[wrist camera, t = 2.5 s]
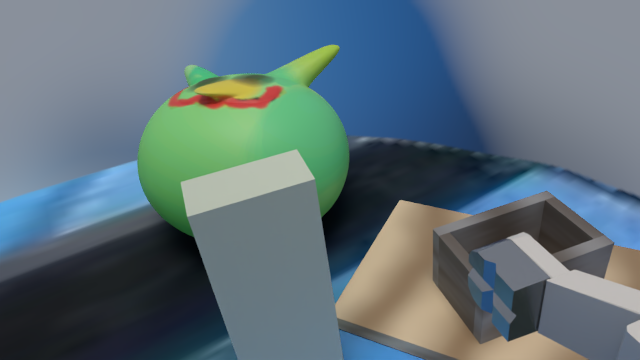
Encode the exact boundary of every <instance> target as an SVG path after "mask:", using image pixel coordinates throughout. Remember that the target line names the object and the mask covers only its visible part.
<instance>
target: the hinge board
mask: <svg viewBox="0 0 640 360" xmlns="http://www.w3.org/2000/svg"><path fill="white" fill-rule="evenodd" d="M522 232H525V233H527V234H529V235H530V236H531V237H532V238H533V239H534V240H536V241H537V242H538V243H539V244H540V245H541V246H542V247H543V248H545V249H546V250H547V251H548V252H549V253H550V254H551V255H552V256H554V257H555V258H556V259H557V260H558V261H559V262H560V263H561V264H562V265H564V266H565V267H566V268H567V269H568V270H569V271H572V270H578V271H581V272H584V273H587V274H590V275H594V276H597V277H600V278H603V279H606V280H609V281H612V282H615V283H618V284H621V285H624V286H627V287H630V288H633V289H636V290H640V251H639V250H635V249H630V248H625V247H620V246H616V245H614V242H613V241H611V240H610V239H609V238H607V237H606V236H605V235H603V234H602V233H601V232H600V231H598V230H597V229H596V228H594V227H593V226H592V225H591V224H589V223H588V222H587V221H585V220H584V219H583V218H581V217H580V216H579V215H578V214H576V213H575V212H574V211H572V210H571V209H570V208H569V207H567V206H566V205H565V204H563V203H562V202H561V201H560V200H558V199H557V198H556V197H554V196H553V195H552V194H551V193H549V192H548V191H545V192H542V193H539V194H536V195H533V196H530V197H527V198H524V199H521V200H518V201H515V202H512V203H509V204H506V205H503V206H500V207H497V208H494V209H491V210H488V211H485V212H482V213H479V214H476V215H469V214H464V213H459V212H455V211H450V210H445V209H440V208H436V207H431V206H426V205H422V204H417V203H412V202H407V201H403V200H400V201H399V202H398V204H397V205H396V207H395V209H394V210H393V212H392V214H391V215H390V217H389V218H388V220H387V222H386V223H385V225H384V226H383V228H382V230H381V231H380V233H379V235H378V236H377V238H376V239H375V241H374V243H373V244H372V246H371V247H370V249H369V251H368V252H367V254H366V256H365V257H364V259H363V260H362V262H361V264H360V265H359V267H358V268H357V270H356V272H355V273H354V275H353V277H352V278H351V280H350V281H349V283H348V285H347V286H346V288H345V289H344V291H343V293H342V294H341V296H340V298H339V299H338V301H337V302H336V304H335V309H336V315H337V321H338V328H339V329H341V330H344V331H347V332H349V333H352V334H355V335H358V336H361V337H364V338H366V339H369V340H372V341H375V342H378V343H380V344H383V345H386V346H389V347H392V348H395V349H397V350H400V351H403V352H406V353H409V354H412V355H414V356H417V357H420V358H423V359H426V360H589V359H587V358H585V357H583V356H581V355H579V354H578V353H576V352H574V351H572V350H570V349H568V348H566V347H564V346H562V345H560V344H558V343H557V342H555V341H553V340H551V339H549V338H547V337H545V336H543V335H541V334H539V333H538V331H536V332H533V333H531V334H528V335H525V336H523V337H520V338H517V339H514V340H512V341H509V342H507V340H506V339H505V338H504V337H503V336H502V334H501V333H500V332H499V331H498V329H497V328H496V327H495V326H494V325H493V323H492V314H491V313H489V312H486V311H484V310H482V309H480V307H479V306H478V305H477V303H476V302H475V300H474V299H473V297H472V295H471V292H470V289H469V286H468V274H469V273H470V271H471V270H472V268H473V267H472V266H471V265H470V263H469V254H470V252H471V251H472V250H475V249H477V248H480V247H483V246H486V245H488V244H491V243H494V242H496V241H499V240H502V239H506V238H508V237H511V236H514V235H516V234H519V233H522Z"/></svg>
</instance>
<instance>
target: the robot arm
mask: <svg viewBox="0 0 640 360" xmlns="http://www.w3.org/2000/svg"><path fill="white" fill-rule="evenodd" d="M469 263H470V265H471V266H472V267H473V268H472V270H471V271H470V273H469V274H468V286H469V289H470V292H471V295H472V297H473V299H474V300H475V302H476V303H477V305H478V306H479V307H480V309H482V310H484V311H486V312H489V313H491V314H492V323H493V325H494V326H495V327H496V328H497V329H498V331H499V332H500V333H501V334H502V336H503V337H504V338H505V339H506V340H507V342H509V341H512V340H514V339H517V338H520V337H523V336H525V335H528V334H531V333H533V332H536V331H538V333H539V334H541V335H543V336H545V337H547V338H549V339H551V340H553V341H555V342H557V343H558V344H560V345H562V346H564V347H566V348H568V349H570V350H572V351H574V352H576V353H578V354H579V355H581V356H583V357H585V358H587V359H589V360H640V290H636V289H633V288H630V287H627V286H624V285H621V284H618V283H615V282H612V281H609V280H606V279H603V278H600V277H597V276H594V275H590V274H587V273H584V272H581V271H578V270H572V271H569V270H568V269H567V268H566V267H565V266H564V265H562V264H561V263H560V262H559V261H558V260H557V259H556V258H555V257H554V256H552V255H551V254H550V253H549V252H548V251H547V250H546V249H545V248H543V247H542V246H541V245H540V244H539V243H538V242H537V241H536V240H534V239H533V238H532V237H531V236H530V235H529V234H527V233H525V232H522V233H519V234H516V235H514V236H511V237H508V238H506V239H502V240H499V241H496V242H494V243H491V244H488V245H486V246H483V247H480V248H477V249H475V250H472V251H471V252H470V254H469Z"/></svg>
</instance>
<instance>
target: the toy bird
mask: <svg viewBox="0 0 640 360" xmlns="http://www.w3.org/2000/svg"><path fill="white" fill-rule="evenodd" d="M339 49H340V48H339V46H337V45H328V46H325V47H322V48H320V49H317V50H315V51H313V52H311V53H309V54H307V55H305V56H302V57H300V58H298V59H296V60H294V61H292V62H290V63H288V64H286V65H285V66H282V67H281V68H278V69H276V70H274V71H272V72H270V73H267V74H233V75H226V76H221V77H219V76H217V75H215V74H213V73H211V72H210V71H208V70H206V69H204V68H201V67H199V66H196V65H189V66H187V67H186V68H185V76H186V80H187V83H188V85H189V87H187V88H185V89H184V90H182V91H180V92H178V93H176V94H175V95H173V96H172V97H171V98H169V99H168V100H167V101H166V102H165V103H163V104H162V105H161V107H159V109H158V110H157V111H156V112H155V113H154V115H153V116H152V117H151V119H150V121H149V122H148V124H147V126H146V128H145V130H144V132H143V135H142V138H141V141H140V145H139V150H138V174H139V179H140V183H141V186H142V189H143V191H144V193H145V195H146V197H147V199H148V201H149V202H150V204H151V205H152V206H153V208H154V209H155V210H156V211H157V213H158V214H159V215H160V216H161V217H162V218H163V219H165V220H166V221H167V222H168V223H169V224H171V225H172V226H174V227H175V228H177V229H178V230H180V231H182V232H184V233H186V234H188V235H190V236H192V237H194V235H193V232H192V229H191V226H190V223H189V221H188V218H187V213H186V208H185V203H184V197H183V192H182V187H181V182H183V181H186V180H190V179H193V178H197V177H200V176H204V175H207V174H211V173H214V172H218V171H221V170H225V169H229V168H232V167H236V166H239V165H243V164H246V163H250V162H253V161H257V160H260V159H264V158H268V157H271V156H275V155H278V154H282V153H285V152H289V151H292V150H296V149H297V150H298V152H299V154H300V155H301V157H302V158H303V160H304V162H305V163H306V165H307V167H308V168H309V170H310V172H311V173H312V175H313V176H314V178H315V182H316V188H317V195H318V201H319V207H320V214H321V218H322V217H323V216H324V215H325V214H326V213H327V212H328V211H329V209H330V208H331V207H332V206H333V204H334V203H335V201H336V200H337V198H338V197H339V195H340V193H341V191H342V188H343V186H344V183H345V180H346V177H347V172H348V166H349V146H348V140H347V136H346V133H345V130H344V127H343V125H342V123H341V121H340V119H339V117H338V115H337V114H336V112H335V111H334V109H333V108H332V107H331V106H330V105H329V103H328V102H327V101H326V100H325V99H323V98H322V97H321V96H320V95H318V94H317V93H316V92H314V91H313V90H311V89H310V88H308V87H309V85H310V84H311V83H312V82H313V80H314V79H315V78H316V77H317V76H318V75H319V74H320V73H321V72H322V71H323V70H324V68H325V67H326V66H327V65H328V64H329V63H330V62H331V61H332V60H333V58H334V57H335V56H336V55H337V53H338V51H339Z"/></svg>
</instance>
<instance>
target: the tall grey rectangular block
mask: <svg viewBox="0 0 640 360" xmlns="http://www.w3.org/2000/svg"><path fill="white" fill-rule="evenodd" d="M181 187H182V192H183V197H184V203H185V208H186V213H187V218H188V221H189V223H190V226H191V229H192V232H193V235H194V237H195V240H196V243H197V246H198V249H199V252H200V254H201V257H202V260H203V263H204V266H205V268H206V271H207V274H208V277H209V280H210V283H211V285H212V288H213V291H214V294H215V297H216V299H217V302H218V305H219V308H220V311H221V314H222V316H223V319H224V322H225V325H226V328H227V330H228V333H229V336H230V339H231V342H232V345H233V347H234V350H235V353H236V356H237V359H238V360H344V359H343V353H342V347H341V340H340V334H339V328H338V321H337V315H336V309H335V302H334V296H333V290H332V283H331V277H330V271H329V264H328V258H327V252H326V245H325V239H324V233H323V226H322V220H321V214H320V207H319V201H318V195H317V188H316V182H315V178H314V176H313V175H312V173H311V172H310V170H309V168H308V167H307V165H306V163H305V162H304V160H303V158H302V157H301V155H300V154H299V152H298V150H297V149H296V150H292V151H289V152H285V153H282V154H278V155H275V156H271V157H268V158H264V159H260V160H257V161H253V162H250V163H246V164H243V165H239V166H236V167H232V168H229V169H225V170H221V171H218V172H214V173H211V174H207V175H204V176H200V177H197V178H193V179H190V180H186V181H183V182H181Z"/></svg>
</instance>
